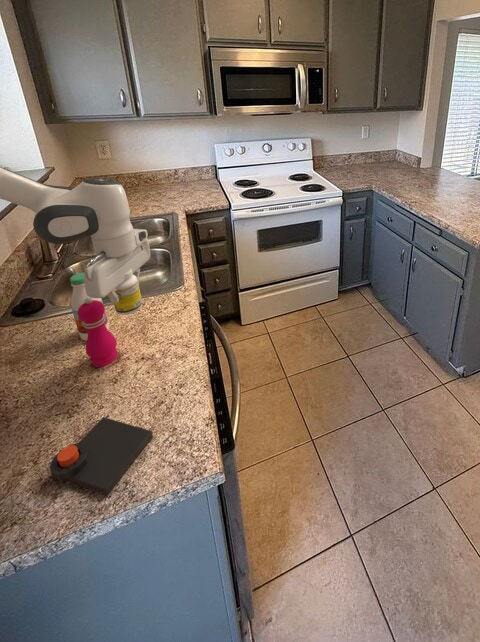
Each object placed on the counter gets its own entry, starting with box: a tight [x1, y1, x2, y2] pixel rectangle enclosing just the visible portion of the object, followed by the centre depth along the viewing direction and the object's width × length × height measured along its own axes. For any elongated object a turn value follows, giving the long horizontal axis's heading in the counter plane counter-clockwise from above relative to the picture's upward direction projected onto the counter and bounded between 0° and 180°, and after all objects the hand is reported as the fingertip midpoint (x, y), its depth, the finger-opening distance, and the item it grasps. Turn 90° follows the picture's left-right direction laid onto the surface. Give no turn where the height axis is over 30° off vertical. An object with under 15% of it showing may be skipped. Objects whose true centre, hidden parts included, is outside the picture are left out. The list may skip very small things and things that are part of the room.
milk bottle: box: [69, 272, 110, 342], centre depth 106 cm, size 8×8×20 cm
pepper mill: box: [78, 297, 119, 368], centre depth 96 cm, size 7×7×20 cm
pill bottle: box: [113, 269, 143, 316], centre depth 90 cm, size 6×6×11 cm
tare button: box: [57, 444, 79, 467], centre depth 69 cm, size 3×3×2 cm
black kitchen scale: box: [49, 416, 154, 497], centre depth 72 cm, size 14×13×4 cm
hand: (126, 292), depth 90 cm, fingers closed on pill bottle, 6 cm apart
